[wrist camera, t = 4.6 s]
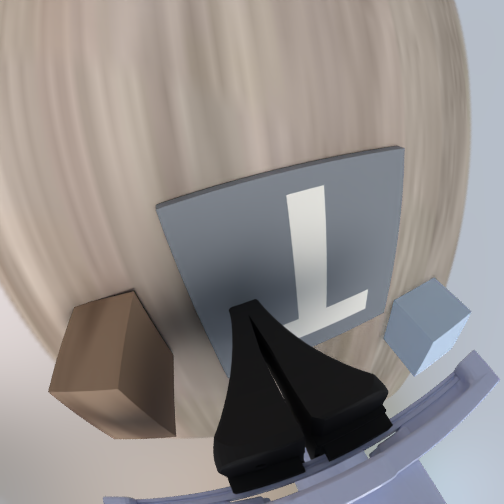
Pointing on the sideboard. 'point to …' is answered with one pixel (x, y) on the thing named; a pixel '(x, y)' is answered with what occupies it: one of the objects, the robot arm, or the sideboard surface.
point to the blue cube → (425, 325)
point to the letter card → (291, 245)
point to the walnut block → (116, 370)
